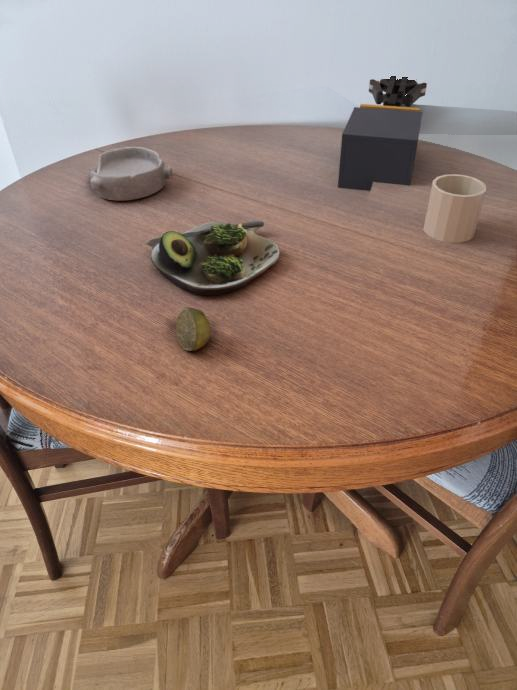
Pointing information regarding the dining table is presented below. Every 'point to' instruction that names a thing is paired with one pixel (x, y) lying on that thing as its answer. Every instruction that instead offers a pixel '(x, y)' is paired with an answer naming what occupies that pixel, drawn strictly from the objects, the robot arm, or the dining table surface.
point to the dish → (129, 173)
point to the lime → (192, 329)
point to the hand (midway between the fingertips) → (390, 110)
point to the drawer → (389, 107)
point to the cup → (454, 208)
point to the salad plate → (213, 256)
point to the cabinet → (378, 147)
